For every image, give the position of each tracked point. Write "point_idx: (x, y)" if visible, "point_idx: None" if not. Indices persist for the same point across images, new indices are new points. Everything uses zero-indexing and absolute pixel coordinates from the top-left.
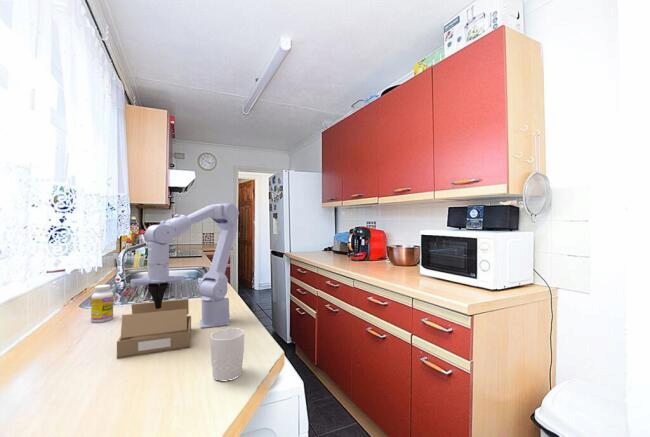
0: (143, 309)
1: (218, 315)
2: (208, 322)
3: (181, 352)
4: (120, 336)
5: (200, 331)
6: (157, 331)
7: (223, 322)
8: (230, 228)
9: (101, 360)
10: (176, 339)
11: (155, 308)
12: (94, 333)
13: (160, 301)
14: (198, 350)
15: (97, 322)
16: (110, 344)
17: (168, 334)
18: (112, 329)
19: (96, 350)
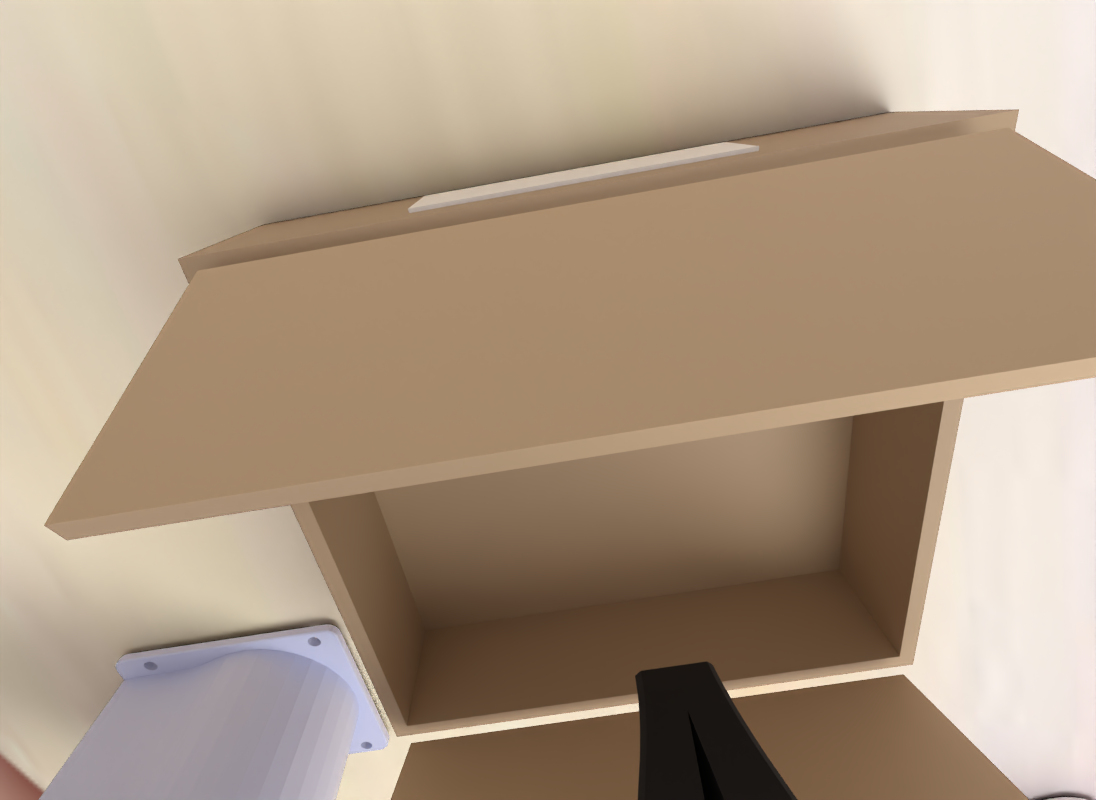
0: (865, 777)
1: (160, 735)
2: (268, 672)
3: (301, 117)
4: None
5: (318, 572)
6: (560, 218)
7: (161, 679)
8: None
9: (1017, 100)
10: (350, 218)
11: None
12: (1081, 652)
13: (660, 791)
14: (135, 130)
15: (1069, 797)
16: (968, 447)
17: (557, 538)
18: (974, 695)
19: None
